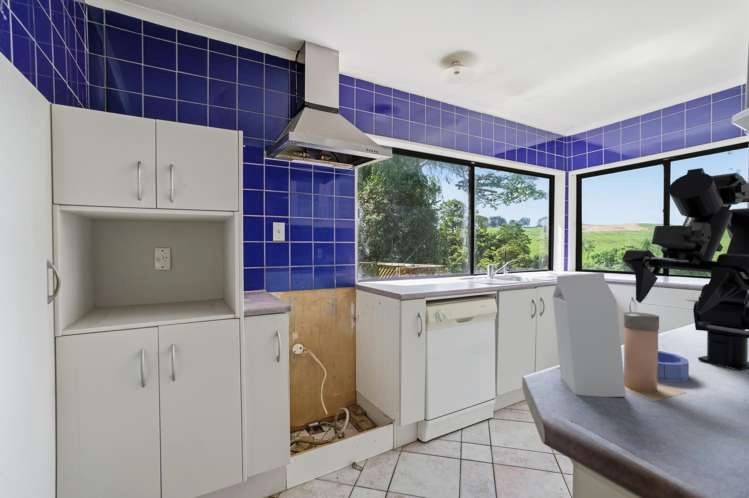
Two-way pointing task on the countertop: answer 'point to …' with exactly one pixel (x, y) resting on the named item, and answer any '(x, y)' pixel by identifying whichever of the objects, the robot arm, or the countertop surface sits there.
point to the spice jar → (641, 351)
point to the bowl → (672, 367)
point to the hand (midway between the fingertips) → (666, 306)
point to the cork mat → (657, 393)
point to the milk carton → (588, 336)
